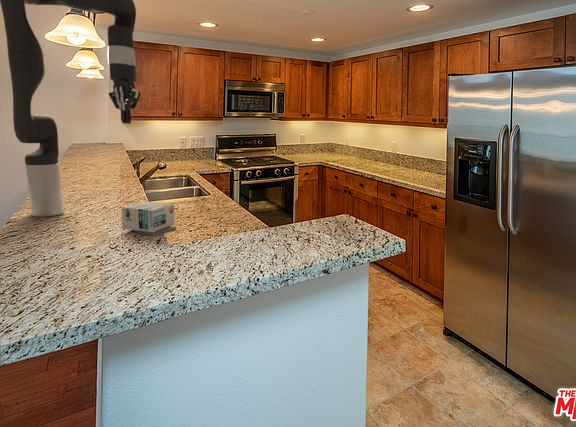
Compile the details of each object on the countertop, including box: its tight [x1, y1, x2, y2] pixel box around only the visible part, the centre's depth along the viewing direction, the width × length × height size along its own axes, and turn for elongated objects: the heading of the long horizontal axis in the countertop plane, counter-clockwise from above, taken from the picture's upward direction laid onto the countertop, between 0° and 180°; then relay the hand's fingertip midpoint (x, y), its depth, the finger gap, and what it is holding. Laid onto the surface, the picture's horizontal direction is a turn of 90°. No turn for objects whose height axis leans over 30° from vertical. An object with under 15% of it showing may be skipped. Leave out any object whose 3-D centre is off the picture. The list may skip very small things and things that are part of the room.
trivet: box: [131, 226, 177, 237], centre depth 109 cm, size 10×8×1 cm
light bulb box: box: [121, 201, 176, 233], centre depth 109 cm, size 11×7×11 cm
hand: (126, 123), depth 114 cm, fingers closed
